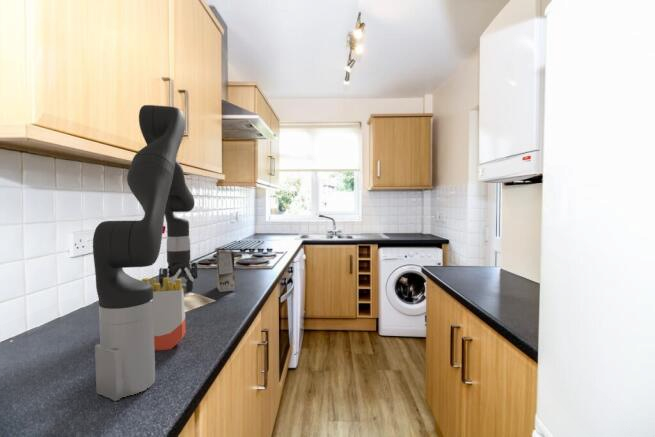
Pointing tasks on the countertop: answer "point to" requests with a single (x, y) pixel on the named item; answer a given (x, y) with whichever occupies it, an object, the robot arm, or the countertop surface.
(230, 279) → the coffee box
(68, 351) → the countertop surface
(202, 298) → the beige and grey tray
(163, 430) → the countertop surface
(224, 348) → the countertop surface
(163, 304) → the french fries container
